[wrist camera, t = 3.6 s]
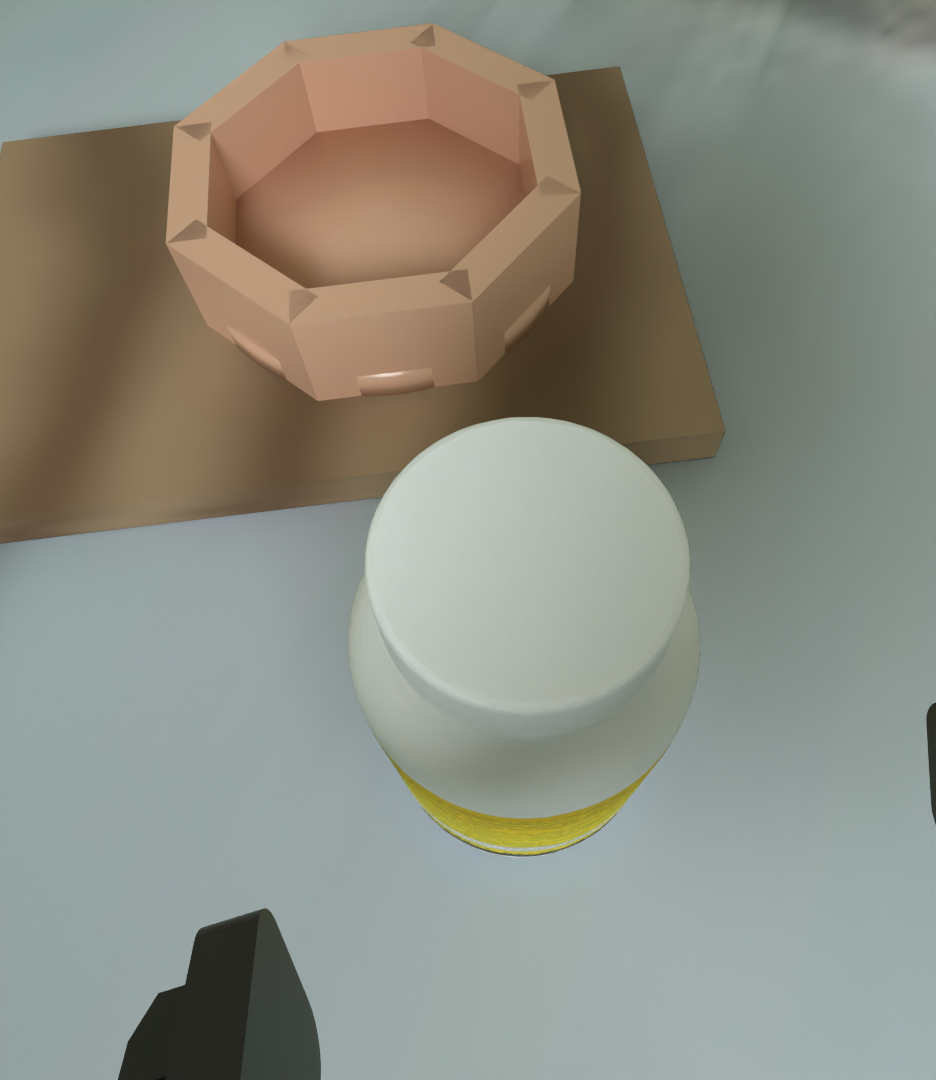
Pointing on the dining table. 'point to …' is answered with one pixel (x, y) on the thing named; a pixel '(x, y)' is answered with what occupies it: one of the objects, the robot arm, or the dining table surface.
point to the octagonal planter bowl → (376, 210)
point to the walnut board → (271, 401)
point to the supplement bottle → (525, 631)
